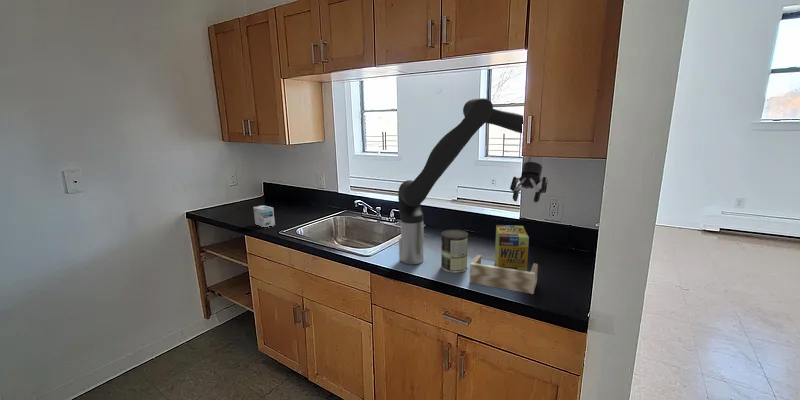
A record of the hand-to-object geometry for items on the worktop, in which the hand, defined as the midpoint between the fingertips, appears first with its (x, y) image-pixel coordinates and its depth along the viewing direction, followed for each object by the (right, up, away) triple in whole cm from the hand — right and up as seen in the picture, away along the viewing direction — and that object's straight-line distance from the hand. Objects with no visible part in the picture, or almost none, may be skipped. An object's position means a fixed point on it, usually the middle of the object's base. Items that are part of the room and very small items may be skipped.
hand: (525, 201), depth 148 cm
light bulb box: (-127, -14, +59) cm, 141 cm away
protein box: (-8, -26, -6) cm, 28 cm away
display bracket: (-14, -29, -18) cm, 36 cm away
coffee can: (-29, -26, -4) cm, 39 cm away
